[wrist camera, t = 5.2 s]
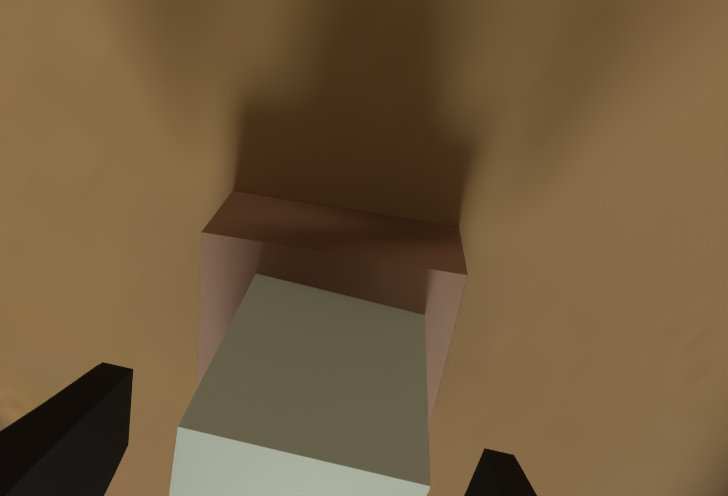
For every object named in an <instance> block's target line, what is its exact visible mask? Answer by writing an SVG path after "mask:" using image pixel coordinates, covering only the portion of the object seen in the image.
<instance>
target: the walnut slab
mask: <svg viewBox="0 0 728 496" xmlns="http://www.w3.org/2000/svg"><path fill="white" fill-rule="evenodd" d="M255 274H260V275H264V276H268V277H272V278H276V279H281V280H285V281H289V282H293V283H297V284H301V285H305V286H309V287H313V288H318V289H322V290H326V291H330V292H334V293H338V294H342V295H346V296H350V297H354V298H358V299H362V300H366V301H370V302H374V303H378V304H382V305H386V306H390V307H394V308H399V309H403V310H407V311H411V312H415V313H419V314H423V315H425V337H426V367H427V398H428V428H429V425H430V421H431V417H432V413H433V409H434V405H435V401H436V397H437V393H438V389H439V386H440V382H441V378H442V374H443V370H444V366H445V362H446V358H447V354H448V350H449V346H450V343H451V339H452V335H453V331H454V327H455V323H456V319H457V315H458V311H459V307H460V303H461V300H462V296H463V292H464V288H465V284H466V280H467V276H468V274H467V269H466V263H465V258H464V253H463V247H462V242H461V237H460V231H459V227H453V226H447V225H441V224H435V223H429V222H422V221H416V220H410V219H404V218H398V217H392V216H385V215H379V214H373V213H367V212H361V211H355V210H349V209H342V208H336V207H330V206H324V205H318V204H312V203H305V202H299V201H293V200H287V199H281V198H275V197H269V196H262V195H256V194H250V193H244V192H238V191H232V193H231V194H230V195H229V197H228V198H227V199H226V201H225V202H224V203H223V205H222V206H221V207H220V208H219V210H218V211H217V212H216V214H215V215H214V216H213V218H212V219H211V220H210V222H209V223H208V224H207V226H206V227H205V228H204V230H203V231H202V232H201V268H200V306H199V344H198V381H197V388H198V386H199V384H200V382H201V380H202V378H203V376H204V374H205V373H206V371H207V369H208V367H209V365H210V363H211V361H212V359H213V357H214V355H215V353H216V351H217V349H218V347H219V345H220V343H221V341H222V339H223V337H224V335H225V333H226V331H227V329H228V327H229V325H230V323H231V321H232V319H233V317H234V315H235V313H236V311H237V309H238V307H239V305H240V304H241V302H242V300H243V298H244V296H245V294H246V292H247V290H248V288H249V286H250V284H251V282H252V280H253V278H254V276H255Z"/></svg>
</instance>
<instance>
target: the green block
mask: <svg viewBox="0 0 728 496" xmlns="http://www.w3.org/2000/svg"><path fill="white" fill-rule="evenodd" d="M429 489H430V459H429V428H428V398H427V367H426V337H425V315H423V314H419V313H415V312H411V311H407V310H403V309H399V308H394V307H390V306H386V305H382V304H378V303H374V302H370V301H366V300H362V299H358V298H354V297H350V296H346V295H342V294H338V293H334V292H330V291H326V290H322V289H318V288H313V287H309V286H305V285H301V284H297V283H293V282H289V281H285V280H281V279H276V278H272V277H268V276H264V275H260V274H255V276H254V278H253V280H252V282H251V284H250V286H249V288H248V290H247V292H246V294H245V296H244V298H243V300H242V302H241V304H240V305H239V307H238V309H237V311H236V313H235V315H234V317H233V319H232V321H231V323H230V325H229V327H228V329H227V331H226V333H225V335H224V337H223V339H222V341H221V343H220V345H219V347H218V349H217V351H216V353H215V355H214V357H213V359H212V361H211V363H210V365H209V367H208V369H207V371H206V373H205V374H204V376H203V378H202V380H201V382H200V384H199V386H198V388H197V390H196V392H195V394H194V396H193V398H192V400H191V402H190V404H189V406H188V408H187V410H186V412H185V414H184V416H183V418H182V420H181V422H180V424H179V426H178V431H177V438H176V446H175V453H174V461H173V469H172V476H171V484H170V491H169V496H427V494H428V491H429Z"/></svg>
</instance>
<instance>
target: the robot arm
mask: <svg viewBox="0 0 728 496" xmlns="http://www.w3.org/2000/svg"><path fill="white" fill-rule="evenodd" d="M132 379H133V369H130V368H126V367H121V366H117V365H112V364H108V363H101V364H99V365H97V366H96V367H94V368H93V369H91V370H90V371H89V372H87V373H86V374H84V375H83V376H81V377H80V378H79V379H77V380H76V381H74V382H73V383H72V384H70V385H69V386H67V387H66V388H64V389H63V390H62V391H60V392H59V393H57V394H56V395H54V396H53V397H51V398H50V399H49V400H47V401H46V402H44V403H43V404H41V405H40V406H38V407H37V408H35V409H34V410H32V411H31V412H29V413H28V414H26V415H25V416H23V417H22V418H20V419H18V420H17V421H15V422H14V423H12V424H11V425H9V426H8V427H6V428H5V429H3V430H2V431H0V496H104V494H105V493H106V491H107V488H108V486H109V484H110V482H111V480H112V478H113V476H114V474H115V472H116V470H117V468H118V466H119V463H120V461H121V459H122V457H123V455H124V453H125V450H126V448H127V446H128V439H129V424H130V409H131V394H132ZM464 496H537V495H536V493H535V491H534V490H533V488H532V486H531V484H530V482H529V481H528V479H527V477H526V475H525V474H524V472H523V470H522V468H521V467H520V465H519V463H518V461H517V460H516V458H515V456H514V455H511V454H507V453H502V452H498V451H494V450H489V449H484V451H483V453H482V456H481V458H480V460H479V463H478V465H477V467H476V470H475V472H474V474H473V477H472V479H471V481H470V484H469V486H468V488H467V491H466V493H465V495H464Z"/></svg>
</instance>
